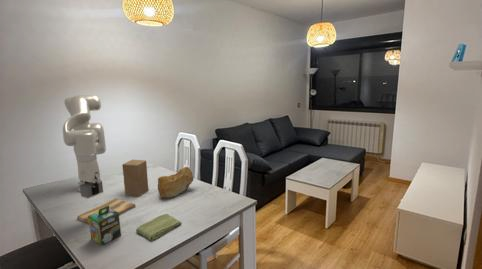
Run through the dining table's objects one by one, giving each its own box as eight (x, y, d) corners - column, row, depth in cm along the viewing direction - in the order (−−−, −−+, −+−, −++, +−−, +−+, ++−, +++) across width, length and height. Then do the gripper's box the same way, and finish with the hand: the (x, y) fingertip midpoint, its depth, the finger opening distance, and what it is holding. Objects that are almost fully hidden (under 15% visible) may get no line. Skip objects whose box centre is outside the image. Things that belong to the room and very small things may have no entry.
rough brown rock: (183, 184, 173) (180, 163, 170) (197, 189, 161) (194, 166, 159) (151, 195, 156) (147, 172, 154) (164, 202, 145) (160, 177, 142)
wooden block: (139, 196, 152) (136, 165, 148) (125, 195, 154) (121, 164, 150) (148, 190, 161) (146, 160, 157) (134, 188, 163) (132, 159, 159)
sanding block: (81, 196, 121) (79, 185, 120) (96, 190, 128) (95, 179, 127) (88, 198, 119) (86, 187, 118) (103, 192, 126) (102, 181, 125)
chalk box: (110, 229, 118) (107, 200, 115) (122, 235, 113) (118, 205, 110) (90, 239, 110) (86, 208, 107) (101, 246, 105) (97, 214, 102)
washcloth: (183, 224, 122) (182, 218, 121) (151, 243, 108) (150, 236, 107) (165, 216, 129) (165, 211, 129) (134, 232, 115) (133, 226, 115)
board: (77, 219, 126) (77, 216, 126) (115, 201, 146) (115, 198, 145) (98, 226, 120) (98, 223, 119) (135, 206, 139) (135, 204, 139)
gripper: (68, 157, 120) (73, 192, 124) (91, 162, 113) (96, 199, 117) (84, 153, 127) (88, 187, 131) (106, 157, 120) (110, 193, 123)
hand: (92, 192), depth 124 cm, fingers closed on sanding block, 5 cm apart
